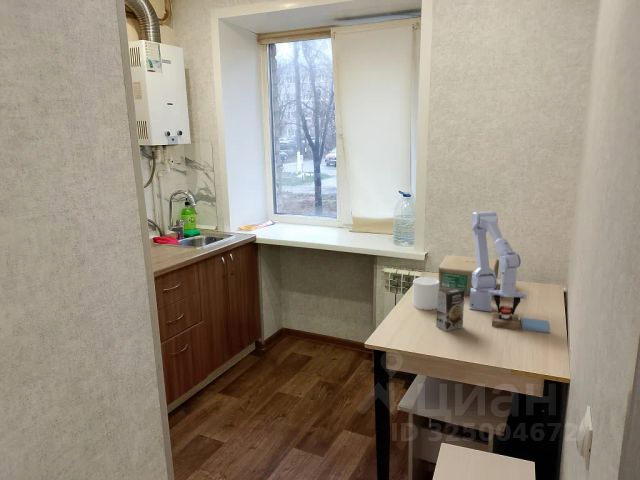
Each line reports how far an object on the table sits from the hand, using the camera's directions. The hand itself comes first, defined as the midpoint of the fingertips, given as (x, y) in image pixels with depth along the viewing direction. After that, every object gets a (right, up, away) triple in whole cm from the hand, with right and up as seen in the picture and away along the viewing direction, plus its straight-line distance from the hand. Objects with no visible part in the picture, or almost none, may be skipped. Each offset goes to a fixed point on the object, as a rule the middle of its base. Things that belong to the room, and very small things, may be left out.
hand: (505, 313), depth 193 cm
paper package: (-2, +6, +44) cm, 45 cm away
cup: (-29, 0, +22) cm, 36 cm away
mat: (+11, -5, -2) cm, 12 cm away
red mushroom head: (0, -4, +1) cm, 4 cm away
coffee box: (-24, -6, -1) cm, 25 cm away
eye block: (0, -4, +1) cm, 4 cm away
